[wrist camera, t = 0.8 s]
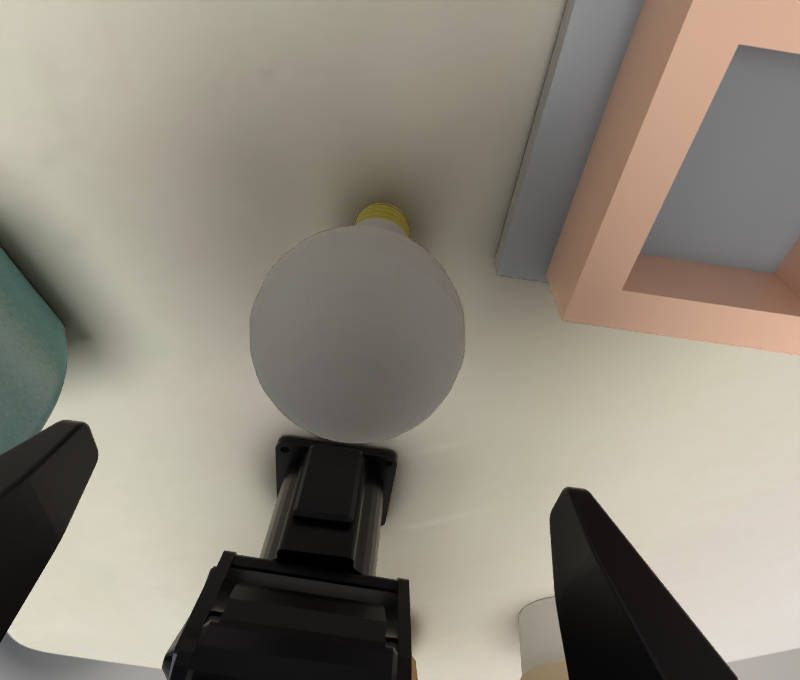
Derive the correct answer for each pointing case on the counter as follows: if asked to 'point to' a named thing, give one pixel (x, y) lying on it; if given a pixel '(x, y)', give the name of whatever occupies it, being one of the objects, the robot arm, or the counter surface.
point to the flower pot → (27, 358)
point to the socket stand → (667, 172)
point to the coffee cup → (541, 642)
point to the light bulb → (358, 331)
